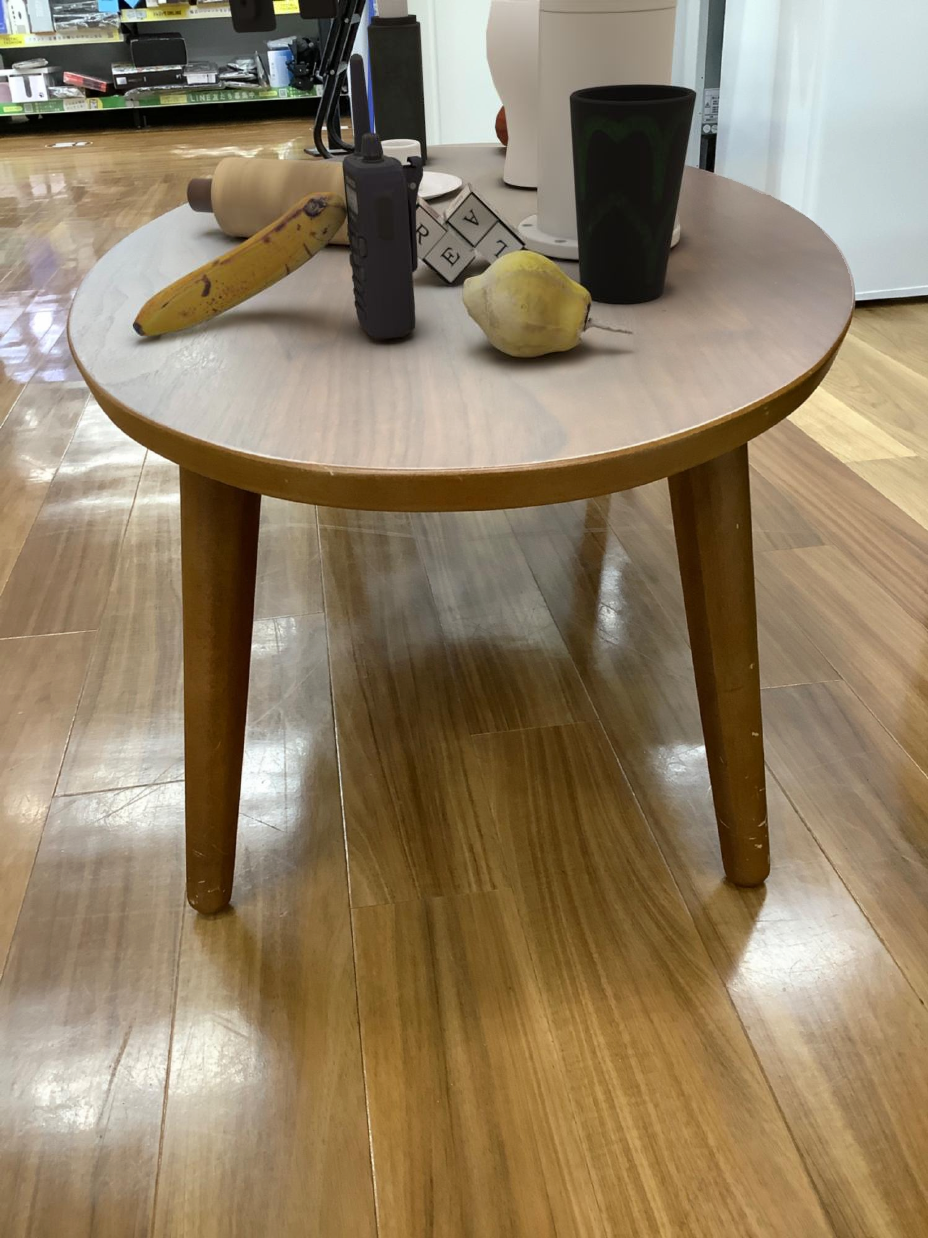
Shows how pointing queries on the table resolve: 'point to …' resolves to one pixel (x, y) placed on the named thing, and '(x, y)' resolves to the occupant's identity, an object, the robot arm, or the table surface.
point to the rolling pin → (263, 192)
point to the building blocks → (463, 234)
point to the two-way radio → (380, 223)
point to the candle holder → (431, 181)
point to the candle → (397, 74)
